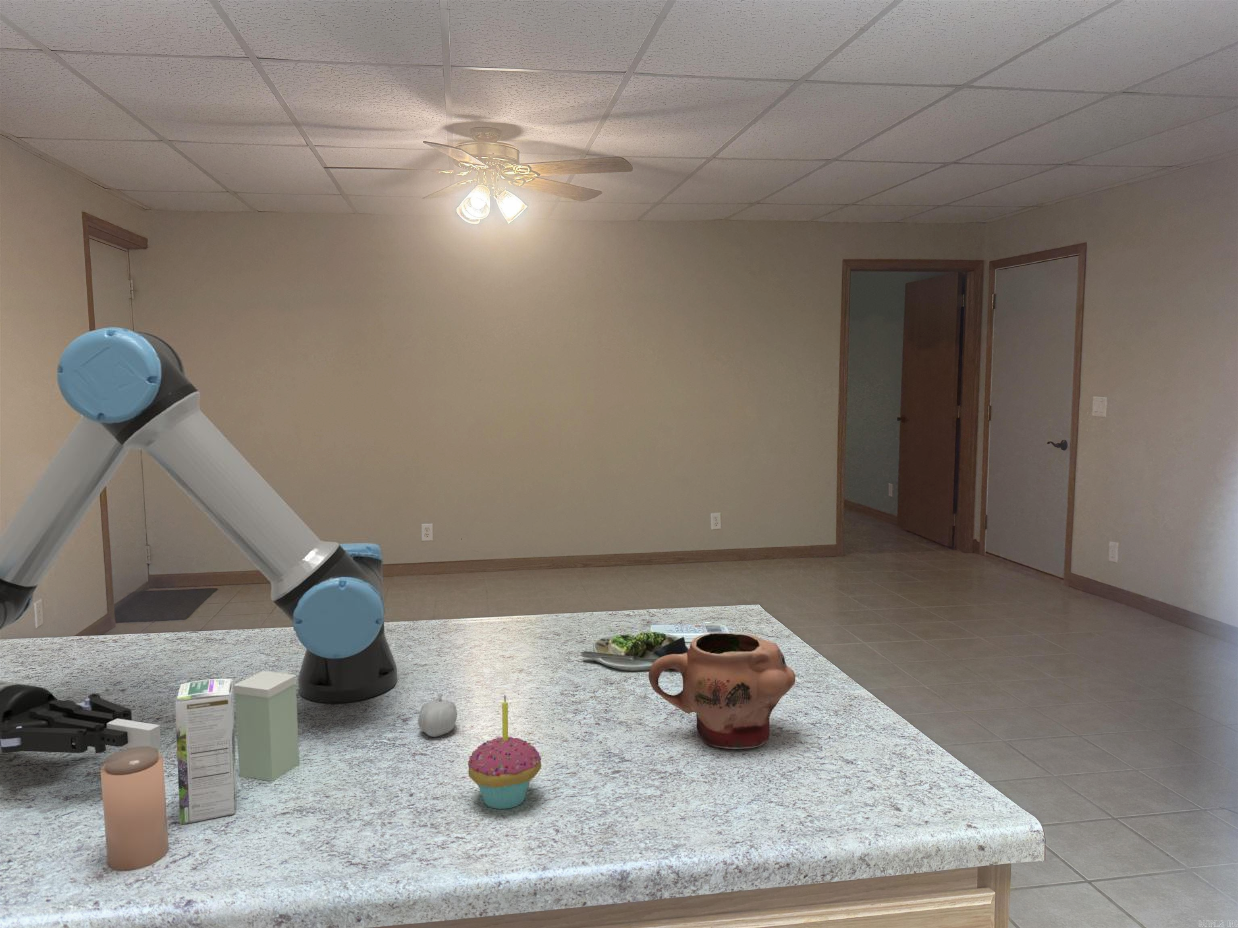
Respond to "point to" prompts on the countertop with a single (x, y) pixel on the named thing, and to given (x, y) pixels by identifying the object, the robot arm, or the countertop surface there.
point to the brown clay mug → (728, 686)
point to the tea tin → (267, 725)
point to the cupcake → (504, 767)
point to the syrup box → (206, 750)
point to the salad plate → (635, 650)
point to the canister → (134, 808)
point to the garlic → (437, 717)
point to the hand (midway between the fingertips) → (155, 738)
